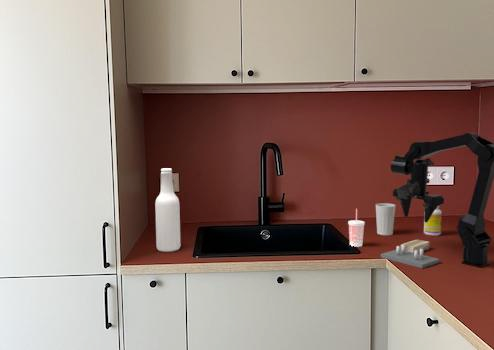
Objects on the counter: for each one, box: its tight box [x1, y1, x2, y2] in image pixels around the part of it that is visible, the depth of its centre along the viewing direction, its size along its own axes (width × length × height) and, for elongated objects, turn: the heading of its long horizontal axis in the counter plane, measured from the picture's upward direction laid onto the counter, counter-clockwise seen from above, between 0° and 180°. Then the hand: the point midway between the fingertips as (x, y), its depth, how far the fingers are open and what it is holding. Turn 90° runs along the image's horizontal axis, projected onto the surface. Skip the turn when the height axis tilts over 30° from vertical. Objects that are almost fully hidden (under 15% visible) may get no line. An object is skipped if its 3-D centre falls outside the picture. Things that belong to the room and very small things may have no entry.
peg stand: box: [380, 245, 440, 269], centre depth 165 cm, size 16×10×4 cm, turn 37°
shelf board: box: [400, 239, 430, 254], centre depth 177 cm, size 5×11×3 cm, turn 131°
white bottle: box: [154, 167, 182, 253], centre depth 180 cm, size 9×9×30 cm
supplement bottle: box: [423, 206, 443, 237], centre depth 200 cm, size 7×7×13 cm
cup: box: [375, 202, 397, 236], centre depth 202 cm, size 8×8×12 cm
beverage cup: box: [347, 208, 366, 248], centre depth 184 cm, size 6×6×14 cm
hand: (415, 219), depth 177 cm, fingers open, 9 cm apart
